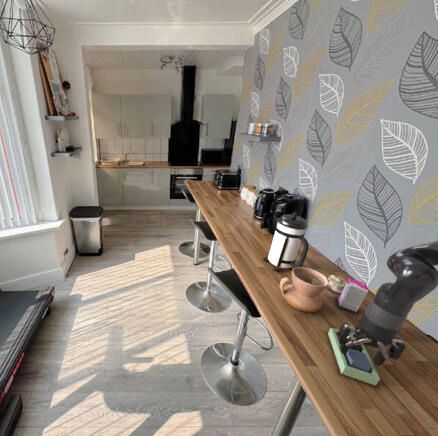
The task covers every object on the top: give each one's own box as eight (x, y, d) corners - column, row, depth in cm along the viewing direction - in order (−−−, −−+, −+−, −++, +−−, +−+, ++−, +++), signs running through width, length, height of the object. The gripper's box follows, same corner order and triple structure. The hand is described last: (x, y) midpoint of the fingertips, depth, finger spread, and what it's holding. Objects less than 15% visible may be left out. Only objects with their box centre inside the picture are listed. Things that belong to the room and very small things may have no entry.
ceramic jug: (315, 295, 103) (327, 269, 97) (329, 321, 90) (343, 292, 84) (271, 287, 107) (279, 261, 101) (278, 310, 94) (288, 282, 89)
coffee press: (259, 265, 122) (274, 213, 110) (268, 253, 134) (282, 204, 121) (297, 280, 112) (317, 224, 100) (303, 266, 123) (322, 213, 111)
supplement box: (357, 313, 94) (369, 291, 90) (338, 307, 97) (349, 285, 93) (355, 304, 99) (366, 282, 94) (337, 298, 102) (347, 277, 97)
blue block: (360, 362, 75) (365, 353, 73) (365, 375, 71) (371, 367, 69) (342, 356, 76) (347, 348, 75) (347, 369, 72) (352, 361, 71)
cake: (346, 285, 111) (352, 276, 109) (349, 298, 103) (355, 288, 101) (322, 276, 116) (327, 267, 113) (323, 287, 108) (328, 279, 105)
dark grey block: (352, 343, 81) (356, 335, 79) (357, 354, 77) (361, 346, 75) (336, 338, 82) (340, 330, 81) (340, 349, 79) (344, 341, 77)
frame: (356, 342, 82) (359, 336, 81) (375, 385, 69) (380, 379, 67) (327, 333, 85) (330, 327, 84) (341, 373, 72) (345, 367, 70)
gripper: (356, 319, 65) (334, 359, 71) (424, 338, 60) (395, 378, 66) (347, 301, 71) (328, 339, 77) (408, 317, 66) (382, 356, 73)
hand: (359, 357), depth 72 cm, fingers open, 8 cm apart
